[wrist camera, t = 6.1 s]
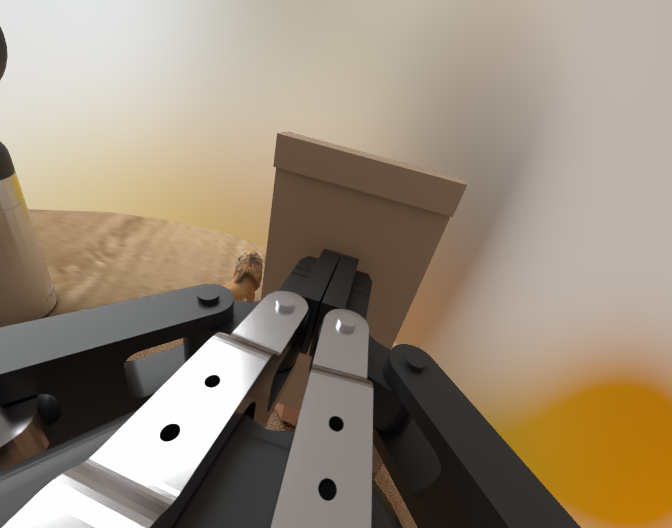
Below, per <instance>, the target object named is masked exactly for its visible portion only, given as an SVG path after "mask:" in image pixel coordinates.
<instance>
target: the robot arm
mask: <svg viewBox="0 0 672 528" xmlns="http://www.w3.org/2000/svg"><path fill="white" fill-rule="evenodd" d="M6 62H7V46H6V42H5V38H4V34H3V32H2V29H1V27H0V80H1V78H2V76H3V74H4V71H5V68H6ZM340 258H341V259H340ZM358 262H359V259H358V258H355V257H352V256H348V255H345V254H342V256H341V253H338V252H335V251H332V250H328V249H325V248H324V250H323V251H322V253H321V255H320V256H319V258H314V257H311V256H307V257H305V258H303V259H301V260H300V261H299V262H298V263H297V265H296V266H295V268H294V269H293V270H292V272H291V273H290V275H289V276H288V277H287V279H286V280H285V282H284V283H283V284H282V286H281V287H280V289H279V290H278V291H276V292H273V293H270V294H268V295H267V296H266V297H265V298H264V299H263V300H262V301H260V302H244V301H234V295H233V293H232V292H231V291H230V290H229V289H228V288H226V287H224V286H221V285H216V284H204V285H198V286H193V287H189V288H184V289H179V290H174V291H170V292H165V293H160V294H156V295H151V296H146V297H141V298H137V299H132V300H127V301H122V302H118V303H113V304H108V305H104V306H99V307H94V308H89V309H85V310H80V311H75V312H71V313H66V314H61V315H56V316H52V317H47V318H42V317H44V316H45V315H47V314H48V313H49V312H50V311H51V310H52V309H53V308H54V306H55V305H56V302H57V298H56V294H55V291H54V286H53V284H52V282H51V279H50V276H49V272H48V269H47V266H46V263H45V260H44V257H43V254H42V251H41V248H40V245H39V242H38V239H37V236H36V233H35V230H34V227H33V224H32V221H31V218H30V214H29V211H28V208H27V206H26V202H25V199H24V197H23V193H22V190H21V187H20V184H19V181H18V178H17V175H16V172H15V169H14V166H13V163H12V160H11V157H10V154H9V152H8V150H7V148H6V147H5V146H4V145H3V144H2V143H1V142H0V528H402V526H401V523H400V521H399V519H398V517H397V515H396V513H395V511H394V509H393V507H392V506H391V504H390V502H389V501H388V499H387V497H386V496H385V494H384V493H383V491H382V490H381V489H380V487H379V486H378V485H377V484H376V483H375V481H374V480H373V479H372V445H373V444H374V446H375V448H376V450H377V452H378V453H379V455H380V457H381V459H382V461H383V463H384V465H385V467H386V468H387V470H388V472H389V474H390V476H391V478H392V480H393V482H394V483H395V485H396V487H397V489H398V491H399V493H400V495H401V497H402V499H403V500H404V502H405V504H406V506H407V508H408V510H409V512H410V514H411V515H412V517H413V519H414V521H415V523H416V525H417V527H418V528H580V526H579V525H578V524H577V523H576V522H575V521H574V520H573V518H572V517H571V516H570V515H569V514H568V513H567V511H565V509H564V508H563V507H562V506H561V505H560V503H559V502H558V501H557V500H556V499H555V498H554V497H553V495H552V494H551V493H550V492H549V491H548V490H547V489H546V488H545V486H544V485H543V484H542V483H541V482H540V481H539V480H538V479H537V477H536V476H535V475H534V474H533V473H532V472H531V470H530V469H529V468H528V467H527V466H526V465H525V464H524V462H523V461H522V460H521V459H520V458H519V457H518V456H517V455H516V453H515V452H514V451H513V450H512V449H511V448H510V447H509V445H508V444H507V443H506V442H505V441H504V440H503V439H502V437H501V436H500V435H499V434H498V433H497V432H496V431H495V429H494V428H493V427H492V426H491V425H490V424H489V423H488V422H487V420H486V419H485V418H484V417H483V416H482V415H481V413H480V412H479V411H478V410H477V409H476V408H475V407H474V406H473V404H472V403H471V402H470V401H469V400H468V399H467V398H466V396H465V395H464V394H463V393H462V392H461V391H460V390H459V388H458V387H457V386H456V385H455V384H454V383H453V382H452V380H451V379H450V378H449V377H448V376H447V375H446V374H445V372H444V371H443V370H442V369H441V368H440V367H439V366H438V364H437V363H436V362H435V361H434V360H433V359H432V358H431V357H430V356H429V355H428V354H427V353H426V352H424V351H423V350H421V349H420V348H417V347H415V346H412V345H407V344H400V345H396V346H395V347H393V348H392V349H391V350H390V349H388V348H386V347H385V346H383V345H381V344H380V343H378V342H377V341H376V340H375V339H373V338H372V337H371V335H370V334H369V326H368V324H367V322H366V316H367V310H368V304H369V298H370V293H371V287H372V280H371V278H370V276H369V274H367V273H364V272H360V271H357V270H356V269H357V265H358ZM41 318H42V319H41ZM180 338H183V342H184V344H183V345H180V346H177V347H174V348H171V349H168V350H165V351H162V352H159V353H156V354H153V355H150V356H147V357H144V358H141V359H137V360H134V361H126V360H127V359H128V358H129V357H130V356H131V355H133V354H135V353H137V352H139V351H142V350H145V349H148V348H152V347H155V346H158V345H161V344H164V343H168V342H171V341H174V340H177V339H180ZM311 342H312V343H311ZM310 345H311V347H310ZM309 347H310V351H309V355H308V356H311V357H312V359H311V363H310V366H309V378H308V382H307V386H306V389H305V393H304V397H303V401H302V405H301V409H300V413H299V416H298V420H297V424H296V428H295V432H290V431H276V430H268V429H266V428H265V427H266V424H267V422H268V420H269V418H270V416H271V414H272V412H273V410H274V408H275V406H276V405H277V403H278V401H279V399H280V397H281V395H282V393H283V391H284V389H285V388H286V386H287V384H288V382H289V380H290V378H291V376H292V374H293V372H294V369H295V365H296V360H297V358H298V355H299V353H303V354H306V355H307V352H308V350H309Z"/></svg>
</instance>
